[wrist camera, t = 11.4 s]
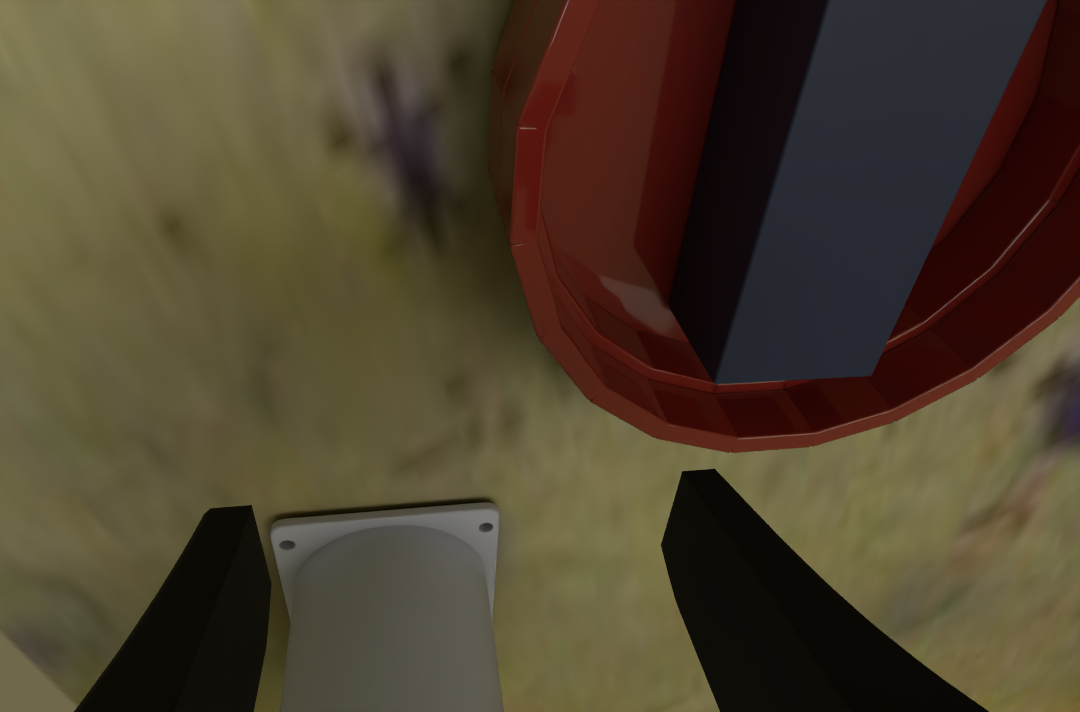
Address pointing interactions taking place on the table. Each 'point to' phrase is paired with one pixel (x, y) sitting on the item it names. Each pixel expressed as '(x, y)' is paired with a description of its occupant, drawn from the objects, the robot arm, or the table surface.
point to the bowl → (664, 203)
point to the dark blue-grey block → (833, 175)
